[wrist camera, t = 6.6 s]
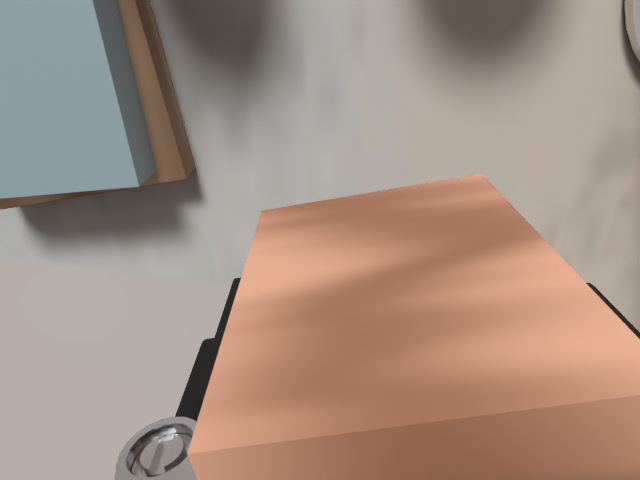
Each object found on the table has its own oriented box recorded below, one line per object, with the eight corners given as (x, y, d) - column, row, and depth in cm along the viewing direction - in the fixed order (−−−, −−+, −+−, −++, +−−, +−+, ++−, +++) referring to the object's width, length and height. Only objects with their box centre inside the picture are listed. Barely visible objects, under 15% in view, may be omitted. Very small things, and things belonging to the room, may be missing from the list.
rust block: (481, 174, 11) (687, 389, 5) (490, 355, 13) (644, 674, 7) (261, 210, 12) (187, 454, 5) (303, 381, 14) (285, 705, 7)
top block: (111, -22, 26) (85, -26, 23) (156, 170, 30) (139, 186, 27) (-80, -2, 26) (-128, -3, 23) (-10, 184, 30) (-44, 202, 27)
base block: (139, -47, 28) (119, -53, 25) (198, 164, 33) (186, 178, 30) (-66, -6, 29) (-106, -8, 26) (21, 193, 33) (-6, 210, 31)
